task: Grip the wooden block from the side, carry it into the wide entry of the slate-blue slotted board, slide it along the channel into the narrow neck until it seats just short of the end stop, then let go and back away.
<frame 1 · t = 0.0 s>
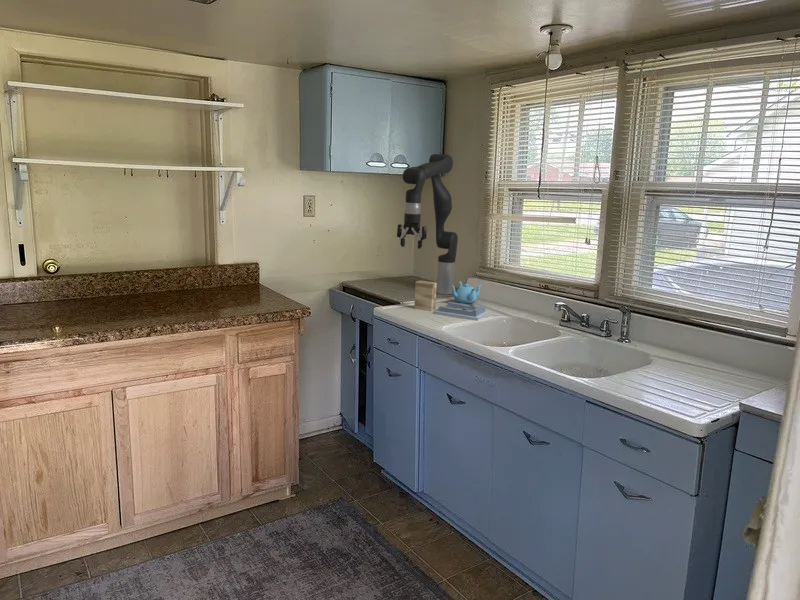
hand: (411, 247, 276), 29 cm above the countertop, tool pointing down, fingers open, 8 cm apart
teapot: (465, 304, 297), on the countertop
slot board: (461, 313, 276), on the countertop
wooden block: (424, 308, 282), on the countertop
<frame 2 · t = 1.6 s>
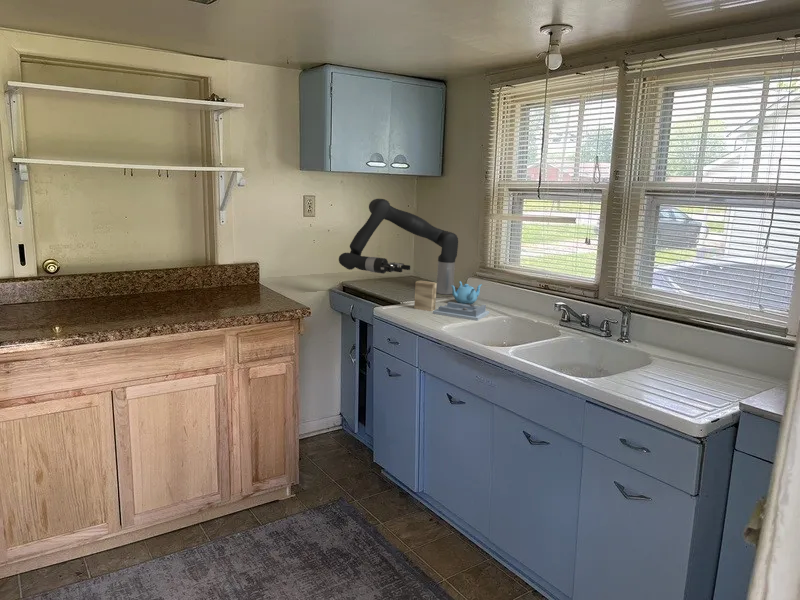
hand: (406, 268, 283), 18 cm above the countertop, tool horizontal, fingers open, 8 cm apart
nothing on the countertop moved.
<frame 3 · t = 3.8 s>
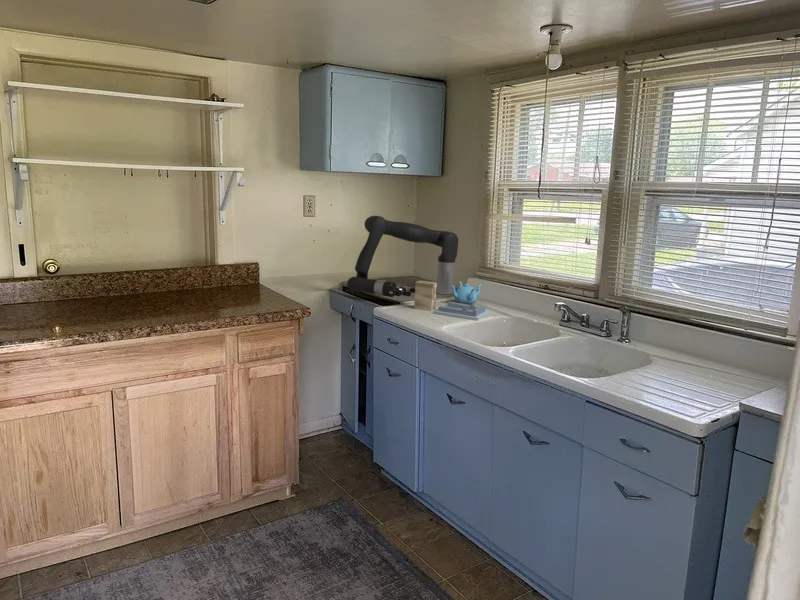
hand: (414, 292, 283), 7 cm above the countertop, tool horizontal, fingers open, 8 cm apart
nothing on the countertop moved.
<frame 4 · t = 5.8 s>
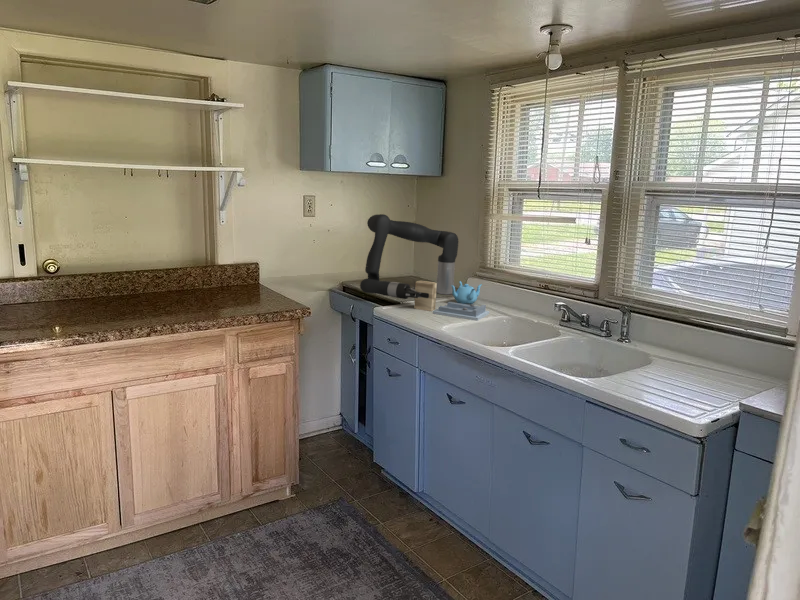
hand: (430, 294, 280), 7 cm above the countertop, tool horizontal, fingers closed on wooden block, 4 cm apart
wooden block: (424, 308, 282), on the countertop, touching gripper
everything else where it was.
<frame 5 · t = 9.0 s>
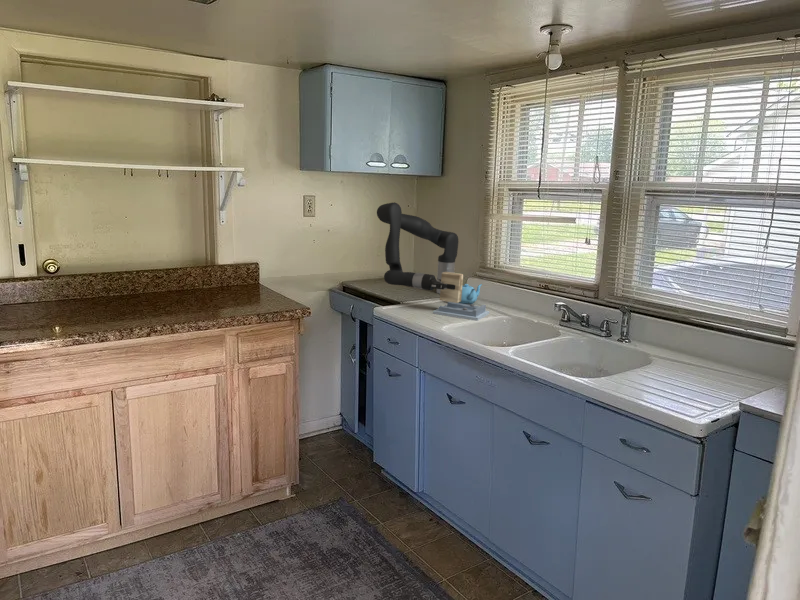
hand: (456, 286, 275), 13 cm above the countertop, tool horizontal, fingers closed on wooden block, 4 cm apart
wooden block: (450, 300, 277), point 5 cm above the countertop, touching gripper
everything else where it was.
when the fingers open (9 cm above the countertop, at t = 12.1 s): wooden block stays where it is, resting on slot board.
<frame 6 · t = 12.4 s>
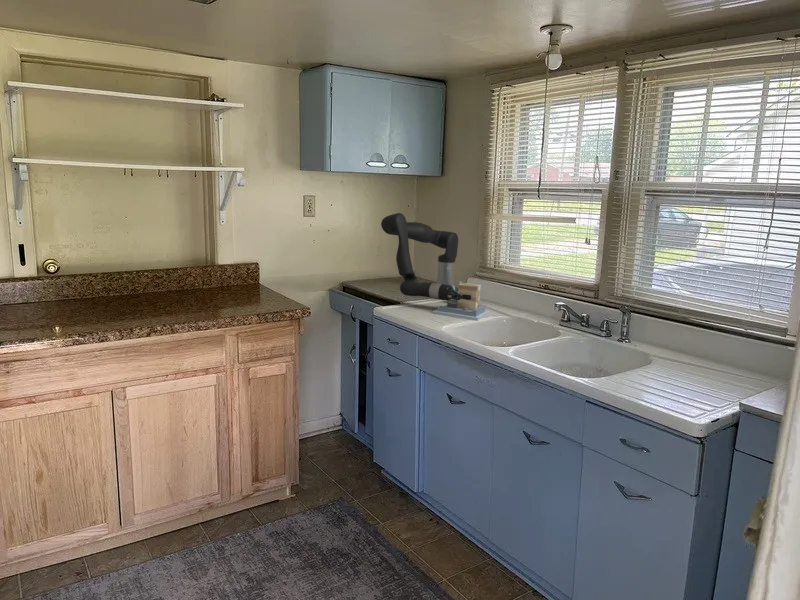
hand: (473, 296, 272), 9 cm above the countertop, tool horizontal, fingers open, 6 cm apart
wooden block: (467, 312, 275), point 1 cm above the countertop, touching slot board
everything else where it was.
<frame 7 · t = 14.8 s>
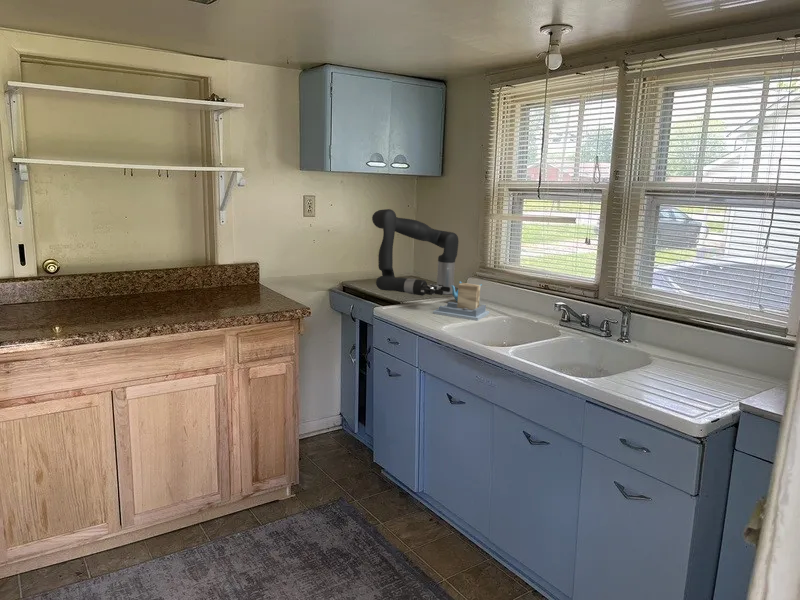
hand: (446, 291, 278), 10 cm above the countertop, tool horizontal, fingers open, 8 cm apart
nothing on the countertop moved.
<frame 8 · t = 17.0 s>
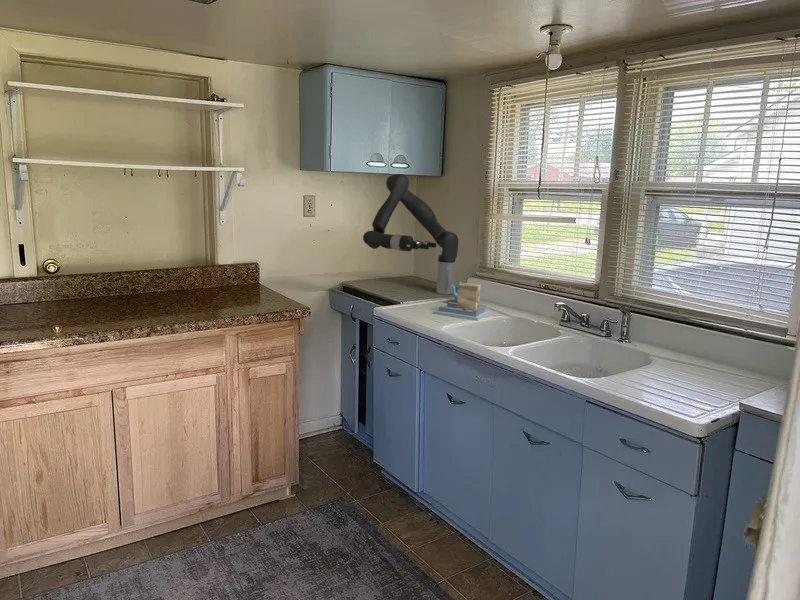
hand: (432, 246, 278), 30 cm above the countertop, tool horizontal, fingers open, 8 cm apart
nothing on the countertop moved.
at the end: wooden block 0.4 cm from the target spot on the slot board, point 1.2 cm above the slot board's base; wooden block tilted 0°; the gripper is holding nothing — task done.
